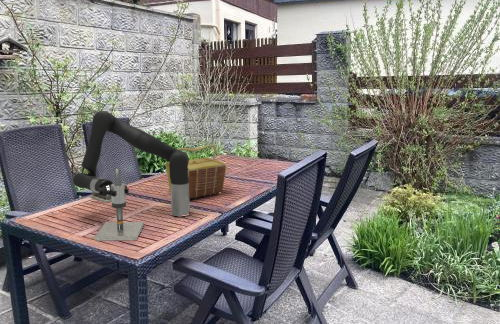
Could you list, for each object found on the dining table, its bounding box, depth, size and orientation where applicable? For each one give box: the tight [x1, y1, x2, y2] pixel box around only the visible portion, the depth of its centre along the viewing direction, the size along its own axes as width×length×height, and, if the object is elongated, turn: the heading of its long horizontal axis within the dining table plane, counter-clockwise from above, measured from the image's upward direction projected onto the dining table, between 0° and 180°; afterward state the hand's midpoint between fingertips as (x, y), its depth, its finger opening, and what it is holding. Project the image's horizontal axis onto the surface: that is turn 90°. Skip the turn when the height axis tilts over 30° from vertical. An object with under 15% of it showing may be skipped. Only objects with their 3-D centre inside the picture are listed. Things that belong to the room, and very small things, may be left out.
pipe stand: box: [94, 168, 145, 242], centre depth 189 cm, size 18×18×30 cm
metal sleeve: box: [111, 182, 127, 204], centre depth 189 cm, size 6×6×8 cm
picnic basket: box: [165, 144, 227, 200], centre depth 253 cm, size 29×26×30 cm
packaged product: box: [89, 191, 112, 204], centre depth 247 cm, size 18×5×10 cm
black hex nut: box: [111, 201, 127, 209], centre depth 190 cm, size 6×6×2 cm
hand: (121, 192), depth 187 cm, fingers closed on metal sleeve, 5 cm apart
